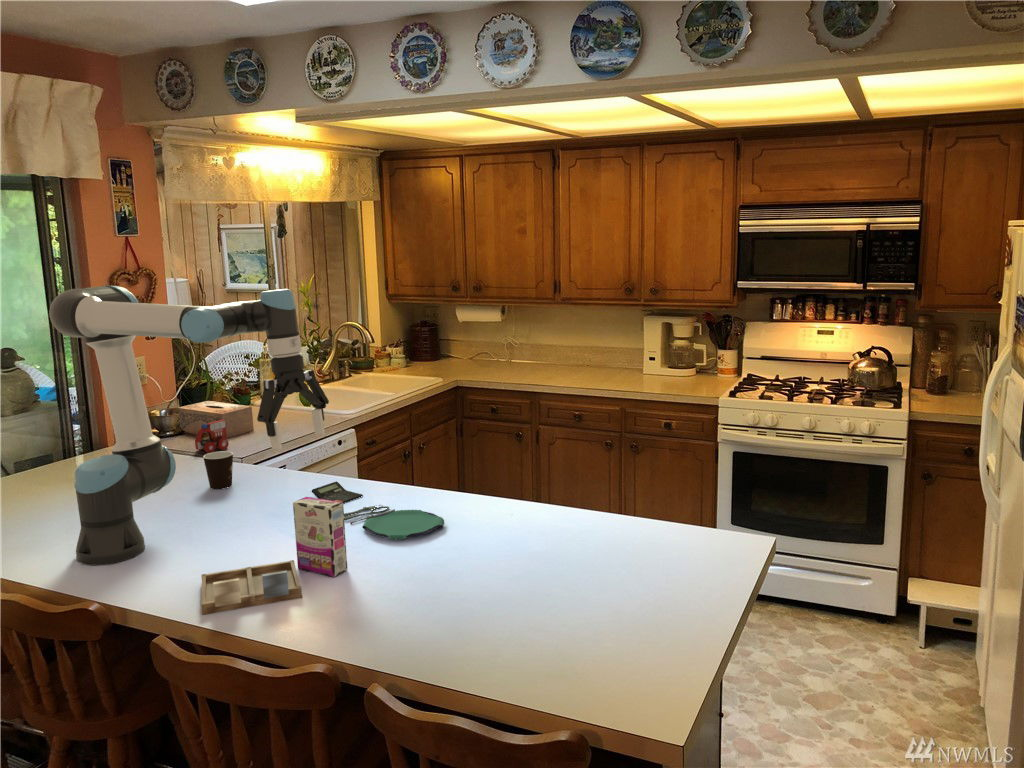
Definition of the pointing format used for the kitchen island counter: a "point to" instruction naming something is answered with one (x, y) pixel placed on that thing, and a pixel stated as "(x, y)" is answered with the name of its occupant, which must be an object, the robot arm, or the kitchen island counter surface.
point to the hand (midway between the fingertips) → (299, 441)
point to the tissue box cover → (216, 417)
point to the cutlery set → (398, 522)
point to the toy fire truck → (212, 436)
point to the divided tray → (249, 587)
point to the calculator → (334, 493)
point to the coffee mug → (219, 469)
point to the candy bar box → (320, 536)
